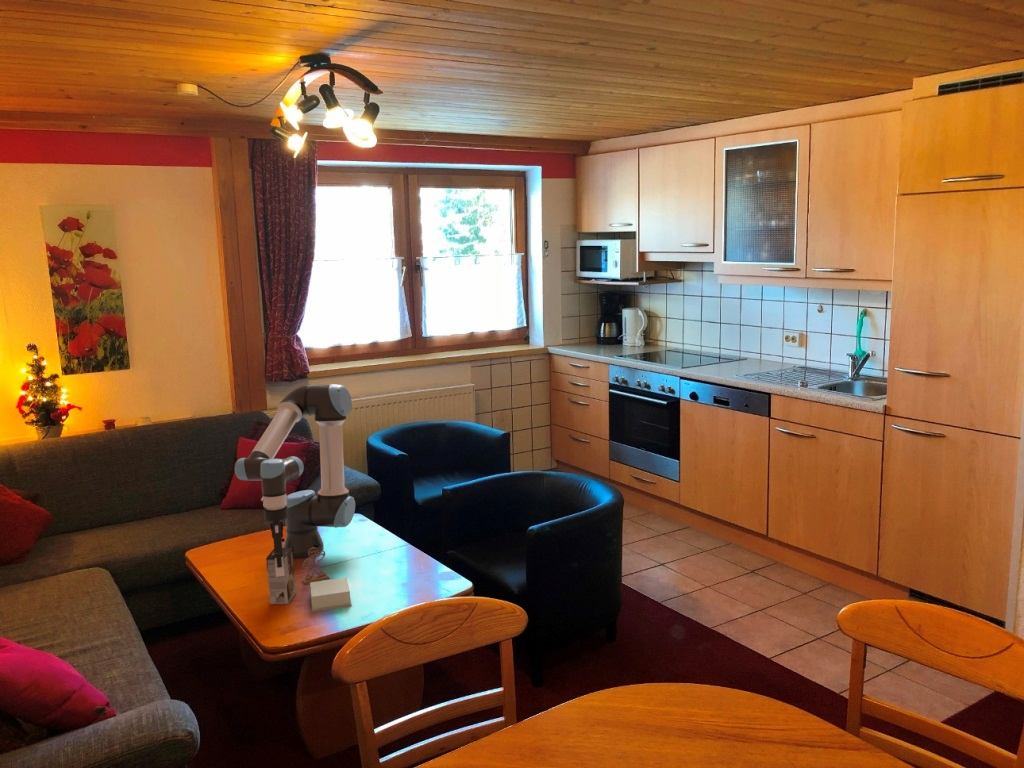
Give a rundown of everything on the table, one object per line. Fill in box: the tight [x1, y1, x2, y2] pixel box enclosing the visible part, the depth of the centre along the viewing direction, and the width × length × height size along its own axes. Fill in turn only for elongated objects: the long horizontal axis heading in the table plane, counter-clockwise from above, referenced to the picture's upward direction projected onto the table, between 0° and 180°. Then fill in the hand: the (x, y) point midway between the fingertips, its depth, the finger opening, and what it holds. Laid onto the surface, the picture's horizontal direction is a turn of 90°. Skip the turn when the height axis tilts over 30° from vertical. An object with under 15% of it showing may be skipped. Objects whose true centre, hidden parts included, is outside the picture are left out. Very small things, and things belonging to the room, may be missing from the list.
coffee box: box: [265, 548, 297, 605], centre depth 271 cm, size 9×6×16 cm
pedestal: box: [309, 577, 353, 613], centre depth 268 cm, size 13×13×5 cm
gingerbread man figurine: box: [301, 547, 330, 586], centre depth 285 cm, size 9×4×12 cm, turn 121°
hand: (280, 568), depth 270 cm, fingers open, 13 cm apart
